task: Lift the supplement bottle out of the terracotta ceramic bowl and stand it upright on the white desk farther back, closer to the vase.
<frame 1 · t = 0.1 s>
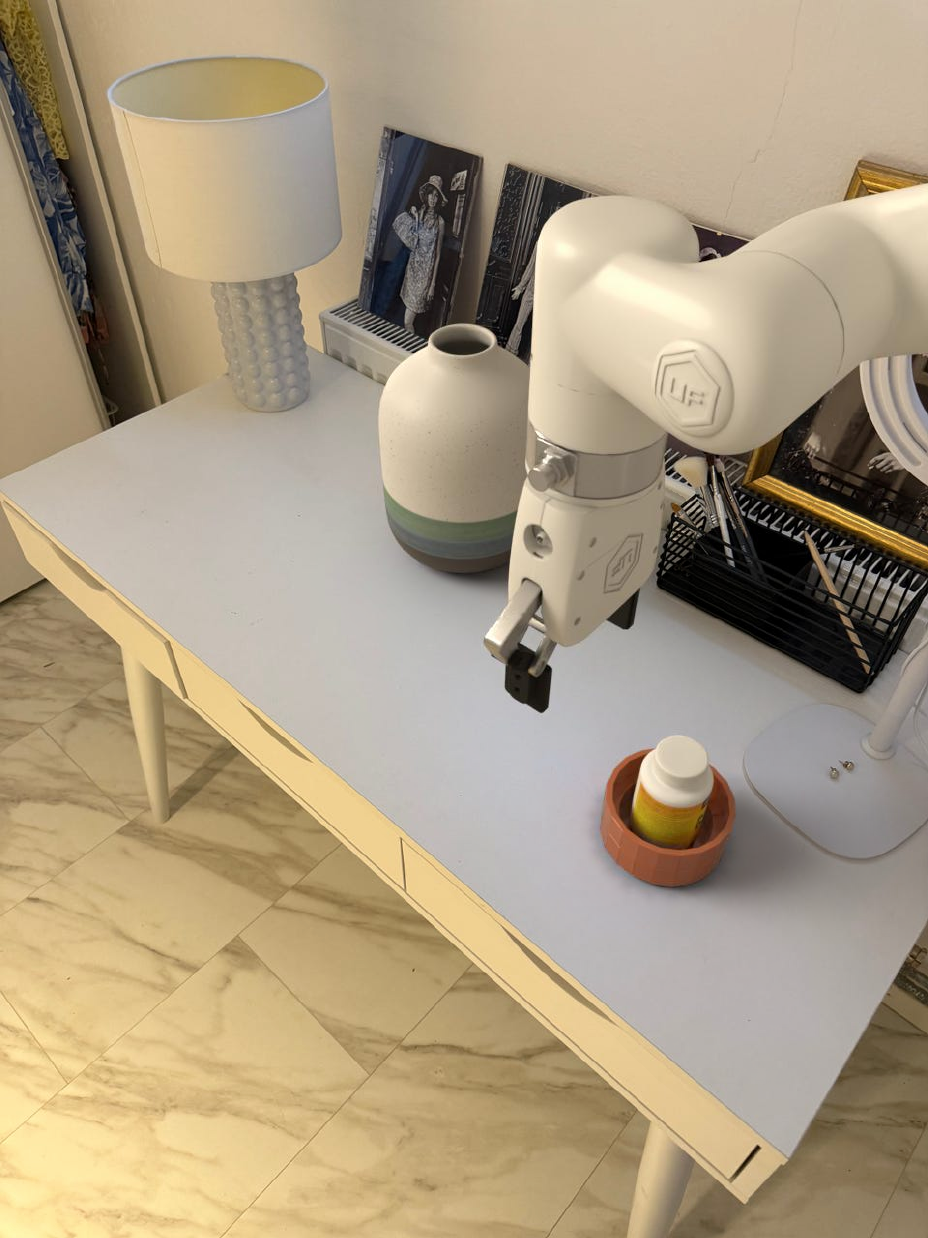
hand: (570, 657, 63), 21 cm above the table, tool pointing down, fingers open, 9 cm apart
bowl: (661, 833, 77), on the table
supplement bottle: (661, 832, 77), resting on bowl
vase: (463, 539, 104), on the table
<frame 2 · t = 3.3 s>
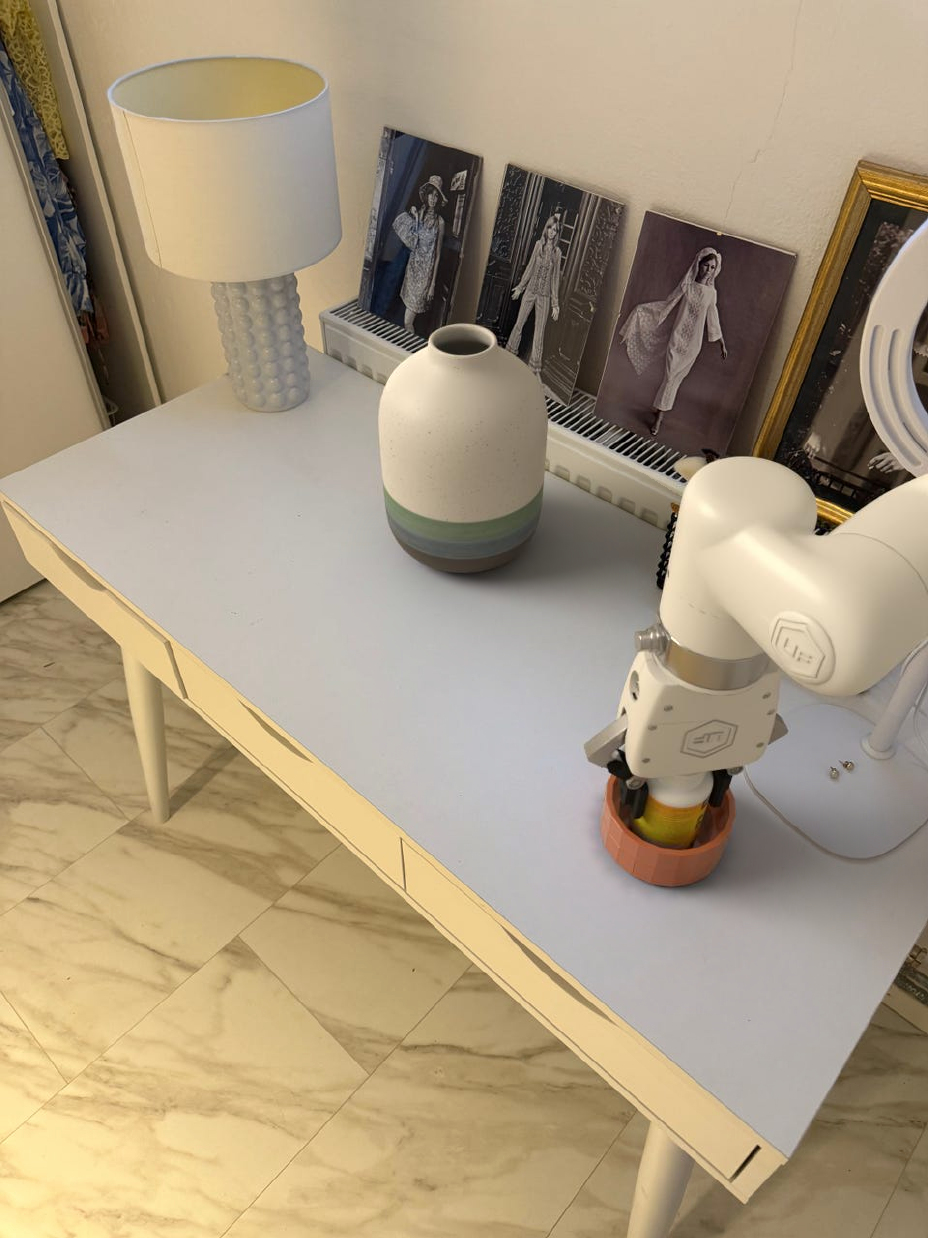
hand: (671, 796, 73), 5 cm above the table, tool pointing down, fingers closed on supplement bottle, 5 cm apart
supplement bottle: (661, 832, 77), resting on bowl, touching gripper
everything else where it was.
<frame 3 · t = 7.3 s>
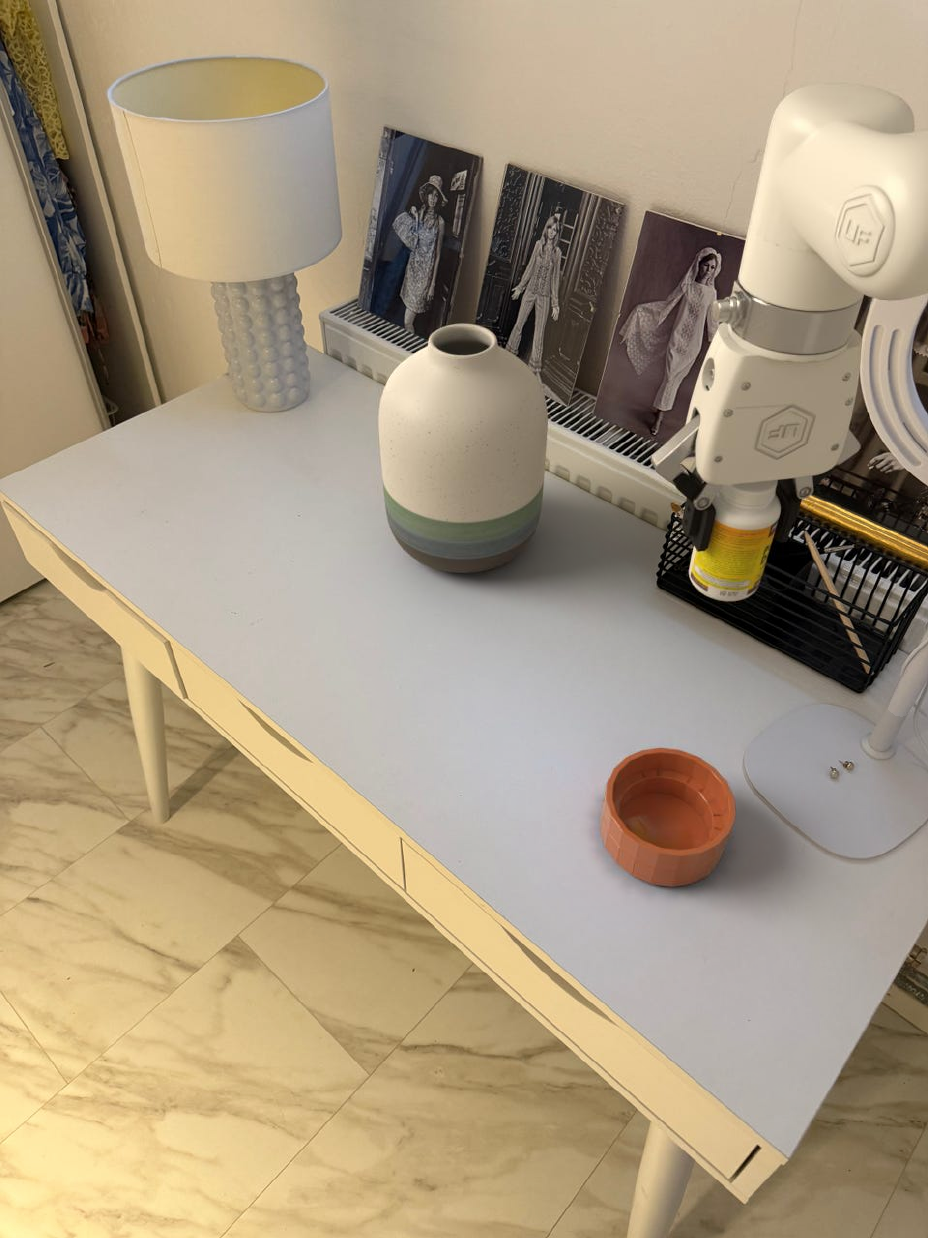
hand: (735, 533, 71), 21 cm above the table, tool pointing down, fingers closed on supplement bottle, 5 cm apart
supplement bottle: (722, 582, 75), point 16 cm above the table, touching gripper
everything else where it was.
when the fingers open (5 cm above the table, at t = 11.2 s): supplement bottle stays where it is, on the table.
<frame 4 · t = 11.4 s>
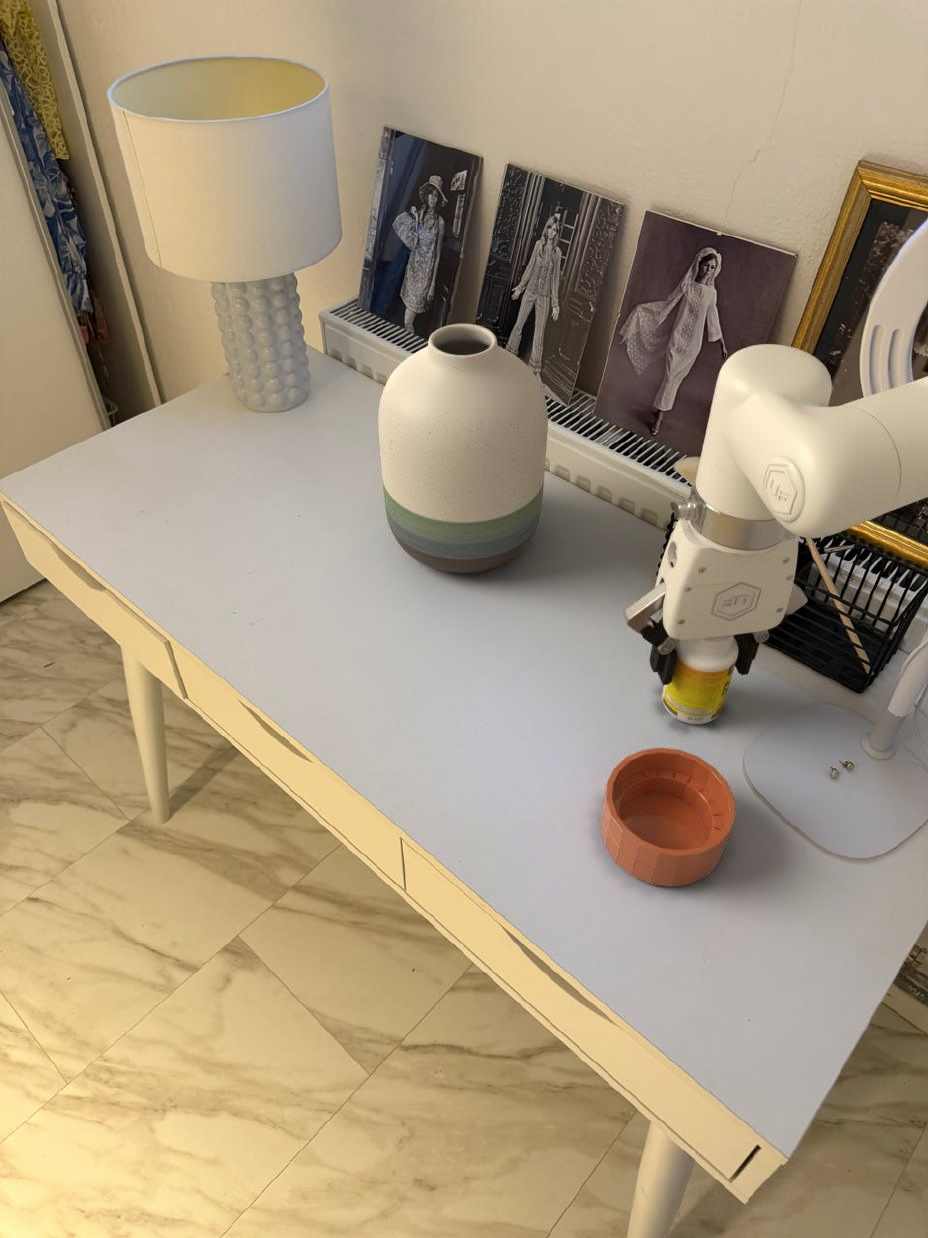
hand: (699, 667, 83), 5 cm above the table, tool pointing down, fingers open, 6 cm apart
supplement bottle: (690, 705, 87), on the table
everything else where it was.
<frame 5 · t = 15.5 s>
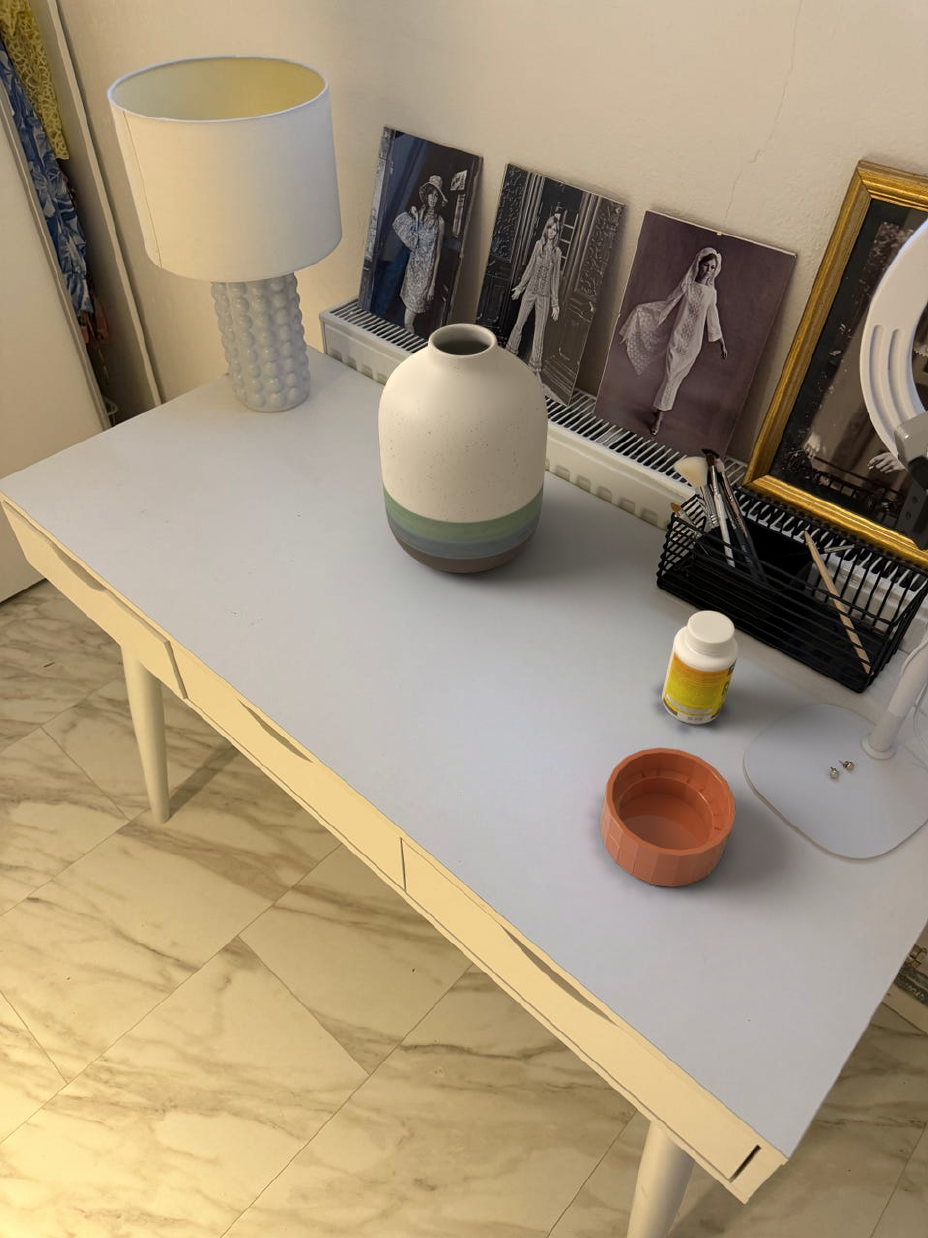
nothing on the table moved.
at the end: supplement bottle inside the target area (0.1 cm from its centre), on the table; supplement bottle tilted 0°; supplement bottle 32.0 cm from the vase (horizontally) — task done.
